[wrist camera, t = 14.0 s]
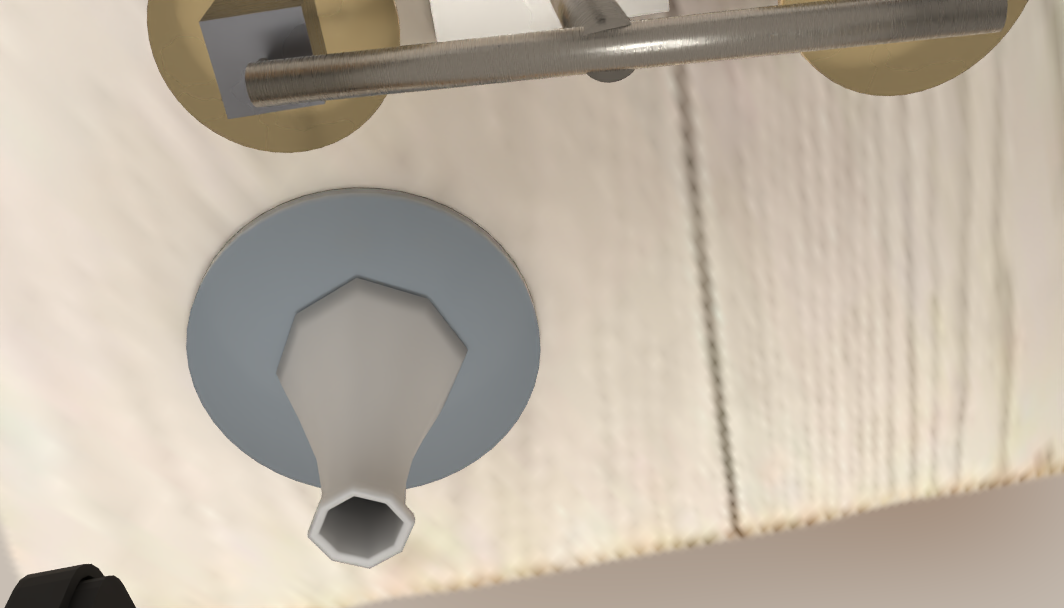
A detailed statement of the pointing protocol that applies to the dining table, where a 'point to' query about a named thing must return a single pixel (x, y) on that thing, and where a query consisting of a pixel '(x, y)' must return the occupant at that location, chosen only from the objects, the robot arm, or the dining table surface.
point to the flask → (367, 409)
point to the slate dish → (331, 262)
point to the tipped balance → (524, 51)
